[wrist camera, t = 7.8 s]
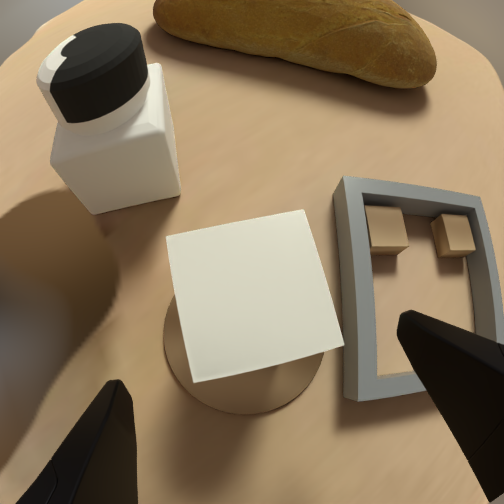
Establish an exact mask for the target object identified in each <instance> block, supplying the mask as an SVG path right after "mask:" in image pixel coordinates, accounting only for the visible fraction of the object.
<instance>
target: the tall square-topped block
mask: <svg viewBox="0 0 504 504" xmlns="http://www.w3.org/2000/svg"><path fill="white" fill-rule="evenodd" d="M166 241H167V248H168V255H169V261H170V268H171V274H172V280H173V286H174V291H175V297H176V303H177V308H178V313H179V318H180V323H181V328H182V333H183V338H184V343H185V348H186V352H187V357H188V361H189V366H190V370H191V374H192V378H193V383H196V382H201V381H207V380H212V379H217V378H222V377H227V376H231V375H236V374H241V373H245V372H249V371H254V370H258V369H262V368H266V367H270V366H274V365H278V364H282V363H286V362H289V361H293V360H297V359H300V358H304V357H307V356H311V355H314V354H317V353H321V352H324V351H327V350H331V349H334V348H337V347H340V346H343V345H344V341H343V338H342V334H341V330H340V326H339V323H338V319H337V316H336V312H335V309H334V305H333V302H332V298H331V295H330V291H329V288H328V284H327V281H326V278H325V274H324V271H323V268H322V265H321V261H320V258H319V255H318V252H317V249H316V245H315V242H314V239H313V236H312V233H311V230H310V227H309V224H308V221H307V218H306V215H305V212H304V209H302V210H297V211H291V212H286V213H280V214H275V215H270V216H264V217H259V218H254V219H249V220H243V221H238V222H233V223H228V224H223V225H218V226H213V227H208V228H203V229H199V230H194V231H189V232H184V233H179V234H175V235H170V236H166Z"/></svg>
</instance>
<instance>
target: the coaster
mask: <svg viewBox="0 0 504 504" xmlns="http://www.w3.org/2000/svg"><path fill="white" fill-rule="evenodd" d="M164 345H165V351H166V355H167V358H168V362H169V364H170V366H171V368H172V371H173V372H174V374H175V376H176V377H177V379H178V381H179V382H180V383H181V384H182V385H183V387H184V388H185V389H186V390H187V391H188V392H189V393H190V394H191V395H193V396H194V397H195V398H197V399H198V400H199V401H201V402H202V403H204V404H206V405H208V406H210V407H212V408H215V409H217V410H220V411H223V412H228V413H232V414H257V413H263V412H267V411H270V410H273V409H276V408H278V407H280V406H282V405H284V404H286V403H288V402H289V401H291V400H292V399H294V398H295V397H296V396H298V395H299V394H300V393H301V392H302V391H303V390H304V389H305V388H306V387H307V386H308V384H309V383H310V382H311V380H312V379H313V377H314V376H315V374H316V372H317V370H318V368H319V366H320V364H321V361H322V358H323V355H324V352H321V353H317V354H314V355H311V356H307V357H304V358H300V359H297V360H293V361H289V362H286V363H282V364H278V365H274V366H270V367H266V368H262V369H258V370H254V371H249V372H245V373H241V374H236V375H231V376H227V377H222V378H217V379H212V380H207V381H201V382H196V383H193V378H192V374H191V370H190V366H189V361H188V357H187V352H186V348H185V343H184V338H183V333H182V328H181V323H180V318H179V313H178V308H177V303H176V297H175V295H174V297H173V299H172V300H171V303H170V305H169V308H168V310H167V314H166V318H165V324H164Z"/></svg>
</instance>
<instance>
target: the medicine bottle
mask: <svg viewBox="0 0 504 504" xmlns="http://www.w3.org/2000/svg"><path fill="white" fill-rule="evenodd" d="M37 85H38V87H39V89H40V90H41V92H42V94H43V96H44V98H45V99H46V101H47V103H48V105H49V106H50V108H51V110H52V112H53V113H54V115H55V117H56V118H57V120H58V123H57V128H56V132H55V137H54V142H53V147H52V152H51V157H50V164H51V166H52V167H53V168H54V170H55V171H56V172H57V173H58V175H59V176H60V177H61V178H62V180H63V181H64V182H65V183H66V185H67V186H68V187H69V188H70V189H71V191H72V192H73V193H74V194H75V195H76V197H77V198H78V199H79V200H80V201H81V203H82V204H83V205H84V206H85V207H86V208H87V210H88V211H89V212H90V213H91V214H93V215H96V214H100V213H104V212H108V211H112V210H117V209H121V208H125V207H129V206H134V205H138V204H143V203H147V202H152V201H156V200H161V199H166V198H171V197H176V196H179V195H180V194H181V185H180V177H179V169H178V161H177V153H176V144H175V135H174V126H173V121H172V117H171V112H170V107H169V102H168V97H167V92H166V87H165V82H164V77H163V72H162V67H161V65H160V64H158V63H154V64H149V65H147V63H146V58H145V54H144V49H143V44H142V40H141V35H140V32H139V31H138V30H137V29H135V28H134V27H132V26H130V25H127V24H123V23H111V24H102V25H97V26H93V27H90V28H87V29H85V30H82V31H80V32H78V33H76V34H74V35H72V36H71V37H69V38H67V39H66V40H64V41H63V42H62V43H61V44H59V45H58V46H57V47H56V48H55V49H54V50H53V51H52V52H51V53H50V54H49V55H48V56H47V57H46V58H45V60H44V61H43V62H42V64H41V66H40V68H39V71H38V75H37Z"/></svg>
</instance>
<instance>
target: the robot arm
mask: <svg viewBox="0 0 504 504" xmlns="http://www.w3.org/2000/svg"><path fill="white" fill-rule="evenodd" d="M397 337H398V340H399V342H400V344H401V346H402V347H403V349H404V351H405V353H406V355H407V357H408V359H409V361H410V363H411V365H412V367H413V369H414V371H415V373H416V374H417V376H418V378H419V379H420V381H421V383H422V384H423V386H424V387H425V389H426V390H427V392H428V394H429V395H430V397H431V399H432V400H433V402H434V403H435V405H436V407H437V408H438V410H439V412H440V413H441V415H442V417H443V418H444V420H445V422H446V423H447V425H448V427H449V428H450V430H451V432H452V434H453V435H454V437H455V439H456V441H457V442H458V444H459V446H460V448H461V450H462V451H463V453H464V455H465V457H466V459H467V460H468V463H469V464H470V466H471V468H472V470H473V472H474V474H475V476H476V478H477V480H478V481H479V483H480V485H481V487H482V489H483V491H484V493H485V495H486V497H487V499H488V501H489V502H492V501H493V500H495V499H496V498H497V497H499V496H500V495H502V494H503V493H504V344H501V343H497V342H496V341H493V340H490V339H488V338H485V337H482V336H480V335H477V334H475V333H472V332H469V331H467V330H464V329H461V328H459V327H456V326H453V325H451V324H448V323H446V322H443V321H440V320H438V319H435V318H432V317H430V316H427V315H424V314H422V313H419V312H416V311H414V310H408V311H406V312H403V313H401V315H400V317H399V322H398V327H397ZM16 504H138V491H137V443H136V433H135V423H134V412H133V401H132V397H131V395H130V394H129V392H128V390H127V389H126V387H125V385H124V384H123V382H122V381H121V380H119V379H117V380H109V381H107V382H106V384H105V385H104V386H103V388H102V389H101V390H100V392H99V393H98V394H97V396H96V397H95V398H94V400H93V401H92V402H91V404H90V405H89V406H88V408H87V409H86V411H85V412H84V413H83V415H82V416H81V417H80V419H79V420H78V421H77V423H76V424H75V426H74V427H73V428H72V430H71V431H70V432H69V434H68V435H67V437H66V438H65V439H64V441H63V442H62V444H61V445H60V446H59V448H58V449H57V451H56V452H55V453H54V455H53V456H52V458H51V460H49V462H48V463H47V465H46V466H45V468H44V469H43V470H42V472H41V473H40V474H39V476H38V477H37V479H36V480H35V481H34V482H33V483H32V485H31V486H30V487H29V488H28V490H27V491H26V492H25V493H24V494H23V495H22V497H21V498H20V499H19V500H18V501H17V502H16Z"/></svg>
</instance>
